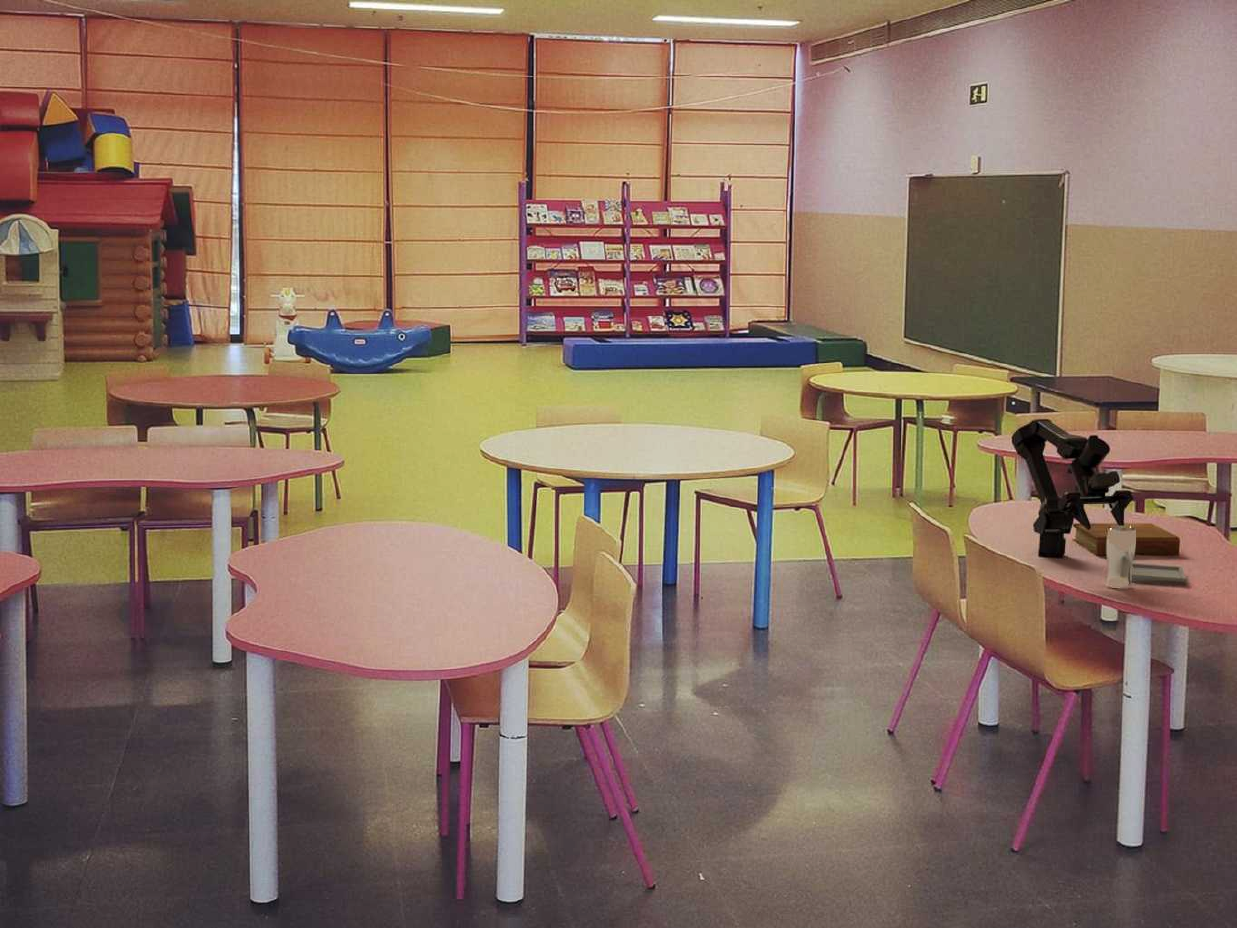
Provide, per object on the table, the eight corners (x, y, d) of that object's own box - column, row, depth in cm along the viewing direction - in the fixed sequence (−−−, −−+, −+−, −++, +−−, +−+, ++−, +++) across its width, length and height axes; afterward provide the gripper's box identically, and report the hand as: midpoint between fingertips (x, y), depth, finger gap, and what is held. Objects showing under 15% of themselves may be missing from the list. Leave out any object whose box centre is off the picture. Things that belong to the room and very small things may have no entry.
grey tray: (1131, 582, 353) (1131, 574, 353) (1128, 570, 366) (1128, 562, 365) (1186, 586, 350) (1186, 578, 349) (1180, 573, 362) (1181, 566, 362)
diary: (1096, 558, 381) (1097, 538, 380) (1071, 543, 399) (1073, 523, 398) (1178, 557, 382) (1180, 537, 381) (1150, 542, 400) (1151, 522, 399)
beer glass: (1134, 590, 345) (1139, 532, 342) (1105, 589, 346) (1109, 530, 344) (1130, 583, 352) (1134, 526, 349) (1101, 582, 353) (1105, 524, 351)
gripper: (1066, 461, 354) (1085, 512, 345) (1132, 459, 358) (1153, 509, 349) (1048, 485, 363) (1067, 536, 354) (1113, 483, 367) (1134, 533, 358)
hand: (1106, 528), depth 354 cm, fingers open, 9 cm apart
